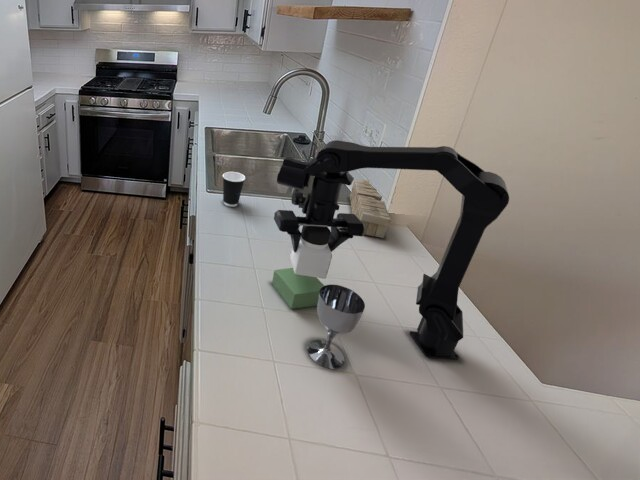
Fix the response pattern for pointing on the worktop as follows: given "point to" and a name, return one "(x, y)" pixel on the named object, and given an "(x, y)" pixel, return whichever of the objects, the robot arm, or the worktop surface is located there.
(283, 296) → the green block
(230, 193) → the dixie cup
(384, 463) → the worktop surface
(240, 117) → the worktop surface
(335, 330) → the wine glass
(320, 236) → the medicine bottle
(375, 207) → the block tower
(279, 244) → the worktop surface
